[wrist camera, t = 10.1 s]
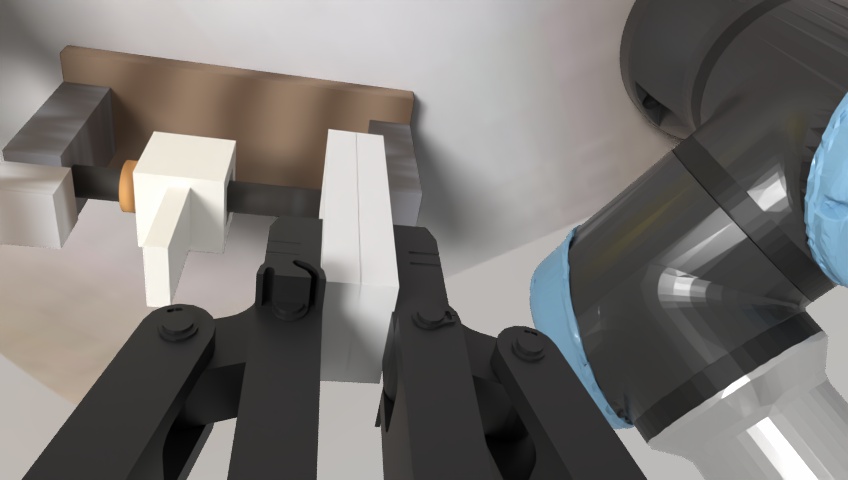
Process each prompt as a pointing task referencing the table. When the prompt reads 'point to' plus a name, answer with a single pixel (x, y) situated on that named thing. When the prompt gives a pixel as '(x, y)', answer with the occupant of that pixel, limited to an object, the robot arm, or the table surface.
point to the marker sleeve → (180, 205)
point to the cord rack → (196, 116)
